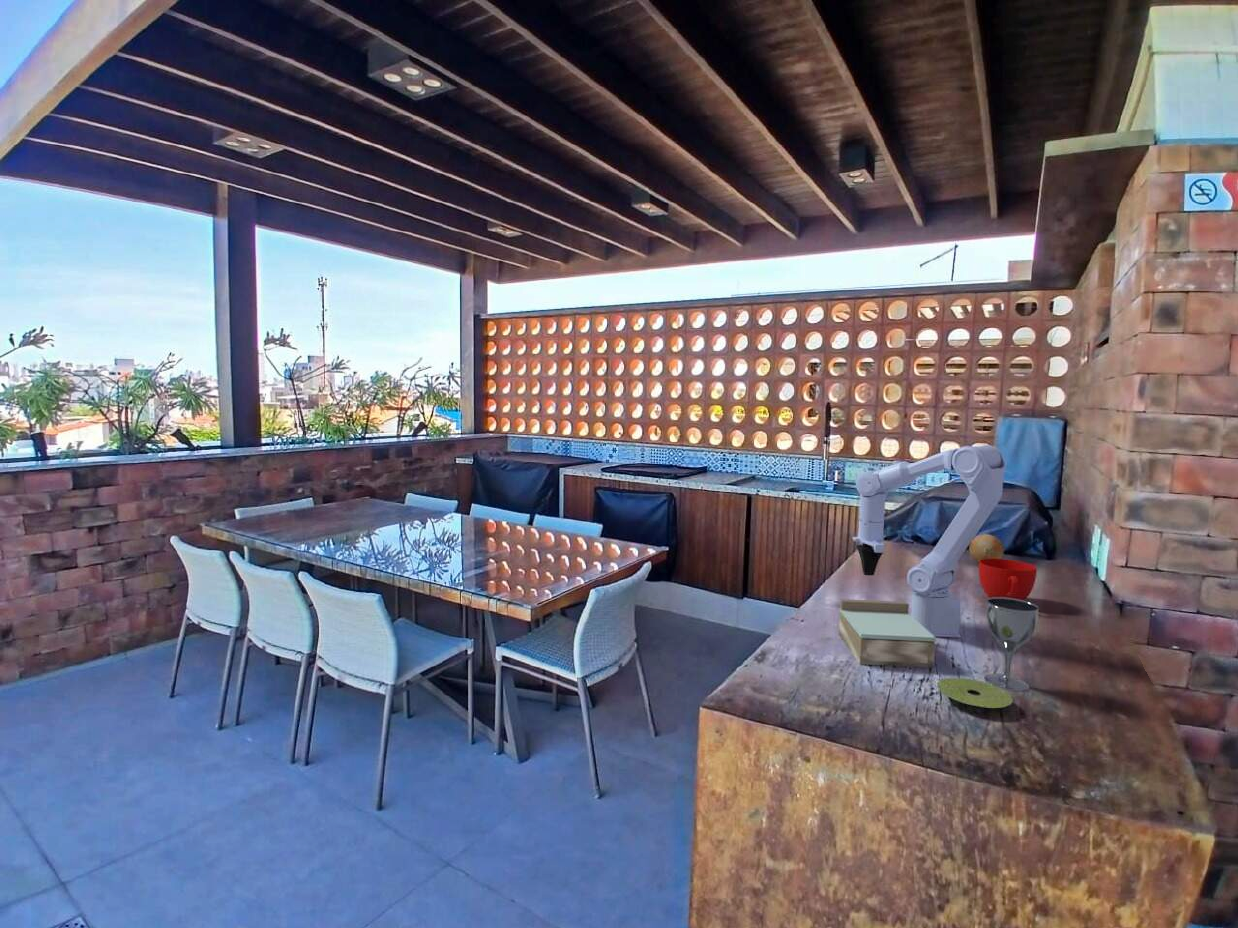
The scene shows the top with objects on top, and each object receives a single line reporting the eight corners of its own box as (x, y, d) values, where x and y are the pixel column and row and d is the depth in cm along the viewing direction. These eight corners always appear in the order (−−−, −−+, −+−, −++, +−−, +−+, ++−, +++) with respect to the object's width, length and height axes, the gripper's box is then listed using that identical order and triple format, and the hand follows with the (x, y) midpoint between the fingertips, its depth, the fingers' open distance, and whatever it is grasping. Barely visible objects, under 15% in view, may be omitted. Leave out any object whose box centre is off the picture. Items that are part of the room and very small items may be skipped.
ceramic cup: (983, 609, 156) (986, 571, 155) (972, 591, 171) (975, 556, 170) (1043, 616, 151) (1046, 577, 150) (1027, 597, 166) (1030, 561, 166)
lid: (905, 614, 135) (906, 601, 135) (935, 641, 119) (936, 627, 119) (840, 611, 137) (840, 599, 136) (861, 637, 121) (861, 624, 120)
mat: (981, 723, 99) (982, 712, 98) (921, 693, 109) (922, 683, 109) (1027, 710, 103) (1027, 699, 103) (965, 683, 113) (966, 672, 113)
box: (903, 637, 136) (905, 615, 135) (933, 667, 120) (935, 642, 119) (838, 634, 137) (839, 612, 137) (859, 663, 121) (861, 639, 121)
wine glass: (1016, 695, 109) (1022, 613, 107) (972, 677, 116) (977, 600, 114) (1041, 686, 112) (1047, 607, 111) (997, 670, 119) (1003, 594, 118)
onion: (975, 567, 198) (977, 536, 197) (963, 559, 208) (965, 530, 207) (1008, 568, 197) (1010, 538, 196) (994, 561, 206) (996, 532, 205)
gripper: (846, 515, 158) (844, 566, 160) (863, 525, 144) (860, 582, 145) (874, 515, 158) (872, 567, 159) (894, 526, 143) (891, 583, 145)
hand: (868, 574), depth 152 cm, fingers closed
